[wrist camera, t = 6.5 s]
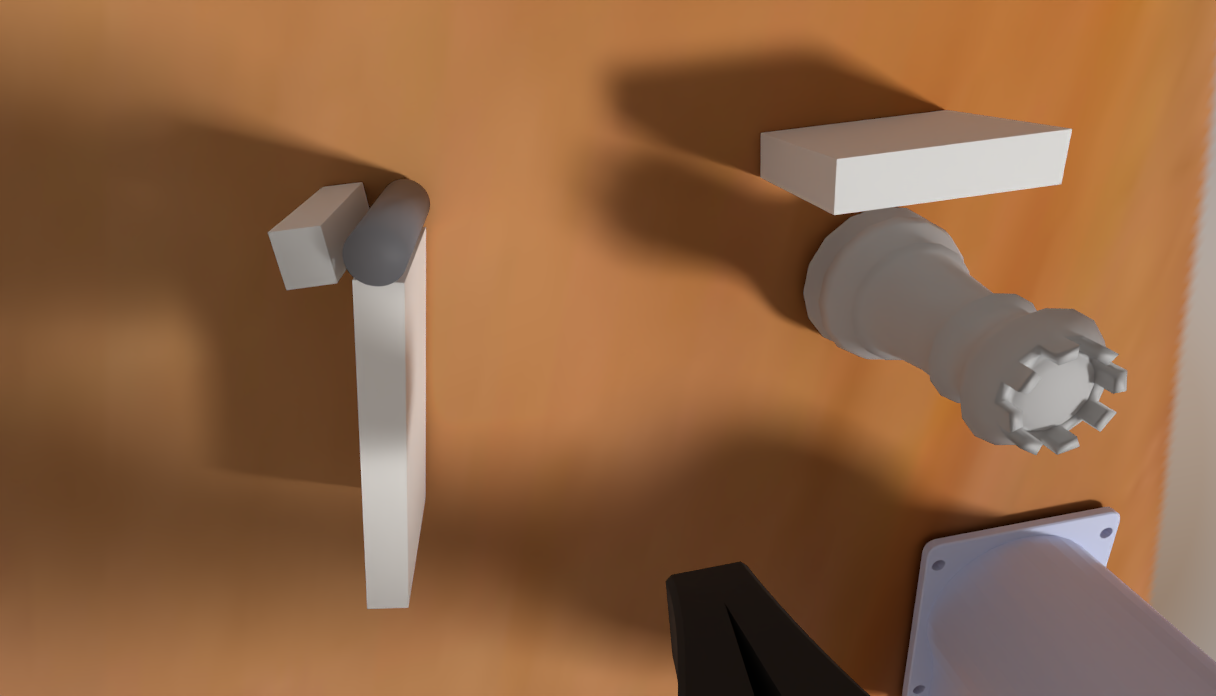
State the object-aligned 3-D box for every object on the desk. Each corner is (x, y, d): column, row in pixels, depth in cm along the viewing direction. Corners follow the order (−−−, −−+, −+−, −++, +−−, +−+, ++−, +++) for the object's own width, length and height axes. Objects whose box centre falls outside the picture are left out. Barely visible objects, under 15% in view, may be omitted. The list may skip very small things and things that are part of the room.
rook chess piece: (941, 191, 20) (1199, 278, 12) (928, 328, 21) (1145, 472, 14) (796, 214, 19) (976, 318, 12) (796, 352, 21) (950, 512, 14)
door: (389, 498, 21) (361, 618, 16) (381, 177, 17) (340, 224, 12) (428, 498, 21) (411, 616, 17) (430, 180, 17) (407, 228, 13)
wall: (941, 153, 19) (1061, 183, 15) (335, 232, 17) (286, 289, 13) (946, 109, 19) (1071, 129, 14) (322, 187, 17) (267, 232, 13)
